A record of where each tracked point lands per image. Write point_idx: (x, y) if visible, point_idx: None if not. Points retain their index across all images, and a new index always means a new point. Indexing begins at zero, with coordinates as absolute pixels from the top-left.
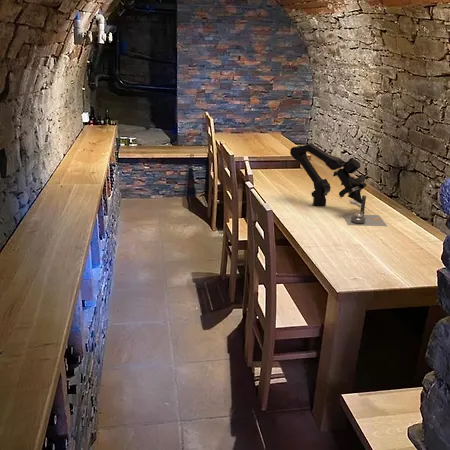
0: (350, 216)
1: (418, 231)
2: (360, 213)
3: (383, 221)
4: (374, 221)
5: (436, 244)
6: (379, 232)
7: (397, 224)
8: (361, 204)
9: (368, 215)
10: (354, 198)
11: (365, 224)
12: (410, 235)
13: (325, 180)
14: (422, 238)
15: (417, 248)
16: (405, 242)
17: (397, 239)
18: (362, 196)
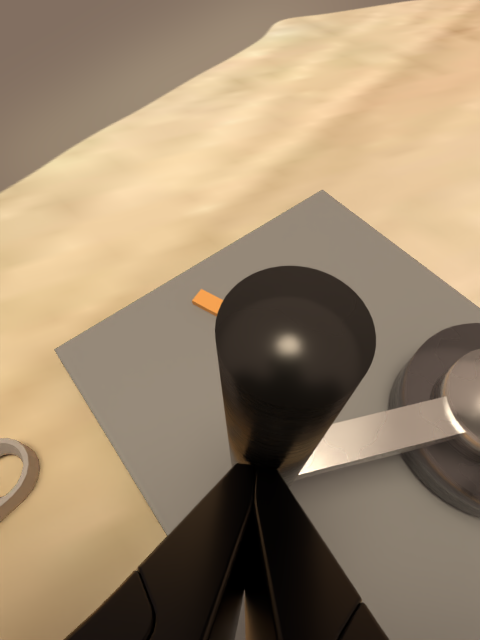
0: None
1: (221, 85)
2: (456, 400)
3: (230, 248)
4: None
5: (341, 13)
6: (461, 208)
7: (176, 185)
8: (311, 454)
9: (142, 434)
10: None
11: None
12: (326, 91)
13: None
14: (317, 53)
15: (473, 37)
16: (457, 79)
17: (459, 110)
18: (362, 376)
